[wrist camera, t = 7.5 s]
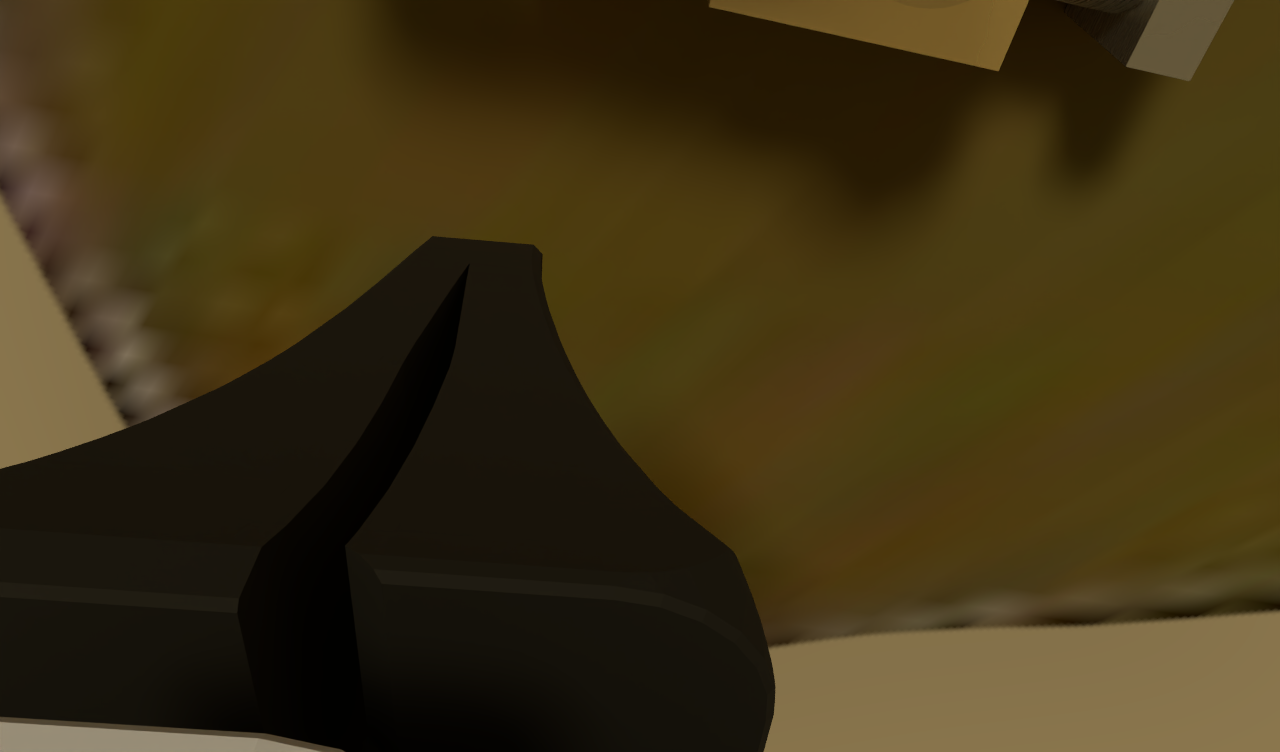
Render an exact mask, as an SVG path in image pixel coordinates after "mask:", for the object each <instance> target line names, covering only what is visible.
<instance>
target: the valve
mask: <svg viewBox="0 0 1280 752" xmlns="http://www.w3.org/2000/svg"><path fill="white" fill-rule="evenodd" d="M1028 1H1029V0H970V1H968V2H965V3H962V4H959V5H956V6H951V7H946V8H936V9H926V8H916V7H912V6H907V5H904V4H902V3H899V2H896V1H894V0H708V4H709V7H711V8H716V9H720V10H725V11H729V12H734V13H738V14H743V15H748V16H752V17H757V18H761V19H766V20H770V21H775V22H779V23H784V24H788V25H793V26H797V27H802V28H806V29H811V30H815V31H820V32H824V33H829V34H833V35H838V36H842V37H847V38H851V39H856V40H860V41H865V42H869V43H874V44H878V45H883V46H887V47H892V48H896V49H901V50H905V51H910V52H914V53H919V54H923V55H928V56H932V57H937V58H941V59H946V60H950V61H955V62H959V63H964V64H968V65H973V66H977V67H982V68H986V69H991V70H995V71H999V69H1000V67H1001V64H1002V62H1003V60H1004V57H1005V55H1006V53H1007V50H1008V48H1009V46H1010V43H1011V41H1012V39H1013V36H1014V34H1015V32H1016V29H1017V27H1018V25H1019V22H1020V20H1021V18H1022V15H1023V13H1024V11H1025V8H1026V6H1027V4H1028ZM1056 1H1060V2H1065V3H1068V4H1067V7H1066V9H1065V11H1064V13H1065V14H1067V15H1068V16H1069V17H1070V18H1071V19H1072V20H1073V21H1075V22H1076V23H1077V24H1078V25H1079V26H1080V27H1081V28H1082V29H1084V30H1085V31H1086V32H1087V33H1088V34H1089V35H1090V36H1092V37H1093V38H1094V39H1095V40H1096V41H1097V42H1098V43H1099V44H1101V45H1102V46H1103V47H1104V48H1105V49H1106V50H1107V51H1109V52H1110V53H1111V54H1112V55H1113V56H1114V57H1115V58H1116V59H1118V60H1119V61H1120V62H1121V63H1122V64H1123V65H1124V66H1126V67H1129V68H1134V69H1138V70H1143V71H1147V72H1151V73H1156V74H1160V75H1165V76H1169V77H1174V78H1178V79H1182V80H1187V81H1190V80H1191V78H1192V76H1193V74H1194V72H1195V71H1196V69H1197V67H1198V65H1199V63H1200V62H1201V60H1202V58H1203V56H1204V54H1205V52H1206V51H1207V49H1208V47H1209V45H1210V43H1211V41H1212V40H1213V38H1214V36H1215V34H1216V32H1217V30H1218V29H1219V27H1220V25H1221V23H1222V21H1223V19H1224V18H1225V16H1226V14H1227V12H1228V10H1229V9H1230V7H1231V5H1232V3H1233V1H1234V0H1056Z"/></svg>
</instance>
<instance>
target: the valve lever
mask: <svg viewBox="0 0 1280 752" xmlns="http://www.w3.org/2000/svg"><path fill="white" fill-rule="evenodd" d="M894 1H896V2H899V3H902V4H904V5H907V6H912V7H916V8H926V9H936V8H946V7H951V6H956V5H959V4H962V3H965V2H968V1H970V0H894Z"/></svg>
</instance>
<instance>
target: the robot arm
mask: <svg viewBox="0 0 1280 752" xmlns="http://www.w3.org/2000/svg"><path fill="white" fill-rule="evenodd" d="M774 703H775V680H774V674H773V667H772V662H771V658H770V654H769V650H768V646H767V642H766V638H765V635H764V631H763V627H762V624H761V620H760V617H759V614H758V612H757V609H756V606H755V603H754V600H753V597H752V594H751V592H750V589H749V587H748V584H747V582H746V579H745V576H744V574H743V571H742V569H741V566H740V564H739V562H738V559H737V557H736V555H735V553H734V552H733V551H732V550H731V549H730V548H729V547H728V546H726V545H725V544H724V543H723V542H721V541H720V540H719V539H717V538H716V537H715V536H714V535H712V534H711V533H710V532H708V531H707V530H706V529H705V528H703V527H702V526H701V525H699V524H698V523H697V522H696V521H694V520H693V519H692V518H690V517H689V516H688V515H687V514H685V513H684V512H683V511H681V510H680V509H679V508H678V507H677V506H676V505H674V504H673V503H672V502H671V501H670V500H669V499H668V498H667V497H666V496H665V495H664V494H663V493H662V492H661V491H660V490H659V489H658V488H657V487H656V486H655V485H654V484H653V482H652V481H651V480H650V479H649V478H648V477H647V475H646V474H645V473H644V472H643V471H642V470H641V469H640V467H639V466H638V465H637V464H636V463H635V462H634V460H633V459H632V458H631V457H630V456H629V455H628V454H627V452H626V451H625V450H624V449H623V448H622V446H621V445H620V444H619V443H618V441H617V440H616V438H615V437H614V436H613V434H612V433H611V431H610V430H609V429H608V427H607V426H606V424H605V423H604V422H603V420H602V419H601V417H600V415H599V414H598V412H597V411H596V409H595V408H594V406H593V404H592V403H591V401H590V400H589V398H588V396H587V394H586V393H585V391H584V389H583V387H582V385H581V384H580V382H579V380H578V378H577V376H576V374H575V372H574V370H573V368H572V366H571V364H570V362H569V360H568V357H567V355H566V353H565V351H564V348H563V346H562V344H561V341H560V339H559V336H558V334H557V331H556V328H555V325H554V322H553V320H552V317H551V314H550V311H549V308H548V304H547V301H546V297H545V293H544V288H543V284H542V253H541V252H540V251H539V250H538V249H537V248H536V247H535V246H534V245H529V244H517V243H506V242H494V241H482V240H470V239H458V238H446V237H434V236H432V237H431V238H430V239H429V240H428V241H426V242H425V243H424V244H423V245H421V246H420V247H419V248H418V249H416V250H415V251H414V252H413V253H412V254H411V255H409V256H408V257H407V258H406V259H405V260H404V261H402V262H401V263H400V264H399V265H398V266H397V267H395V268H394V269H393V270H392V271H391V272H390V273H388V274H387V275H386V276H385V277H384V278H383V279H381V280H380V281H379V282H378V283H377V284H376V285H374V286H373V287H372V288H371V289H369V290H368V291H367V292H366V293H364V294H363V295H362V296H361V297H359V298H358V299H357V300H356V301H354V302H353V303H352V304H351V305H349V306H348V307H347V308H346V309H345V310H343V311H342V312H340V313H339V314H338V315H336V316H335V317H333V318H332V319H330V320H329V321H328V322H326V323H325V324H323V325H322V326H321V327H319V328H318V329H316V330H315V331H314V332H312V333H311V334H309V335H308V336H306V337H305V338H304V339H302V340H301V341H299V342H298V343H297V344H295V345H293V346H292V347H290V348H289V349H287V350H286V351H284V352H282V353H281V354H279V355H277V356H276V357H274V358H272V359H271V360H269V361H268V362H266V363H264V364H262V365H260V366H259V367H257V368H255V369H253V370H251V371H250V372H248V373H246V374H244V375H242V376H241V377H239V378H237V379H235V380H233V381H231V382H230V383H228V384H226V385H224V386H222V387H220V388H218V389H216V390H213V391H211V392H209V393H207V394H205V395H202V396H200V397H198V398H196V399H194V400H191V401H189V402H187V403H185V404H182V405H180V406H178V407H176V408H174V409H171V410H169V411H167V412H165V413H162V414H160V415H158V416H156V417H154V418H151V419H149V420H147V421H144V422H142V423H139V424H137V425H134V426H131V427H129V428H126V429H123V430H121V431H118V432H115V433H113V434H110V435H108V436H105V437H102V438H99V439H96V440H93V441H90V442H87V443H84V444H81V445H78V446H75V447H72V448H69V449H66V450H63V451H61V452H58V453H54V454H51V455H48V456H44V457H41V458H38V459H35V460H32V461H28V462H25V463H21V464H17V465H13V466H9V467H5V468H2V469H0V752H763V751H764V748H765V744H766V741H767V737H768V733H769V730H770V726H771V722H772V719H773V715H774Z"/></svg>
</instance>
